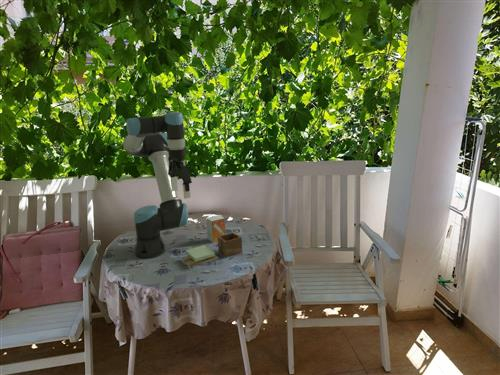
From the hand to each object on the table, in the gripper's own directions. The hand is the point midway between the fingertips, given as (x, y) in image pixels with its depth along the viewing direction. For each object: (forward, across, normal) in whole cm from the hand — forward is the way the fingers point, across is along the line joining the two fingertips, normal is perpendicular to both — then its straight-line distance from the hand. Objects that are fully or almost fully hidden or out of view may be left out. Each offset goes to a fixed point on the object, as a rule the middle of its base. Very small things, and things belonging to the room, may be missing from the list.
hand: (180, 194), depth 176 cm
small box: (+34, +13, -24) cm, 43 cm away
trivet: (+34, -3, -6) cm, 35 cm away
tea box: (+34, -6, -21) cm, 40 cm away
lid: (+31, -3, -6) cm, 32 cm away
